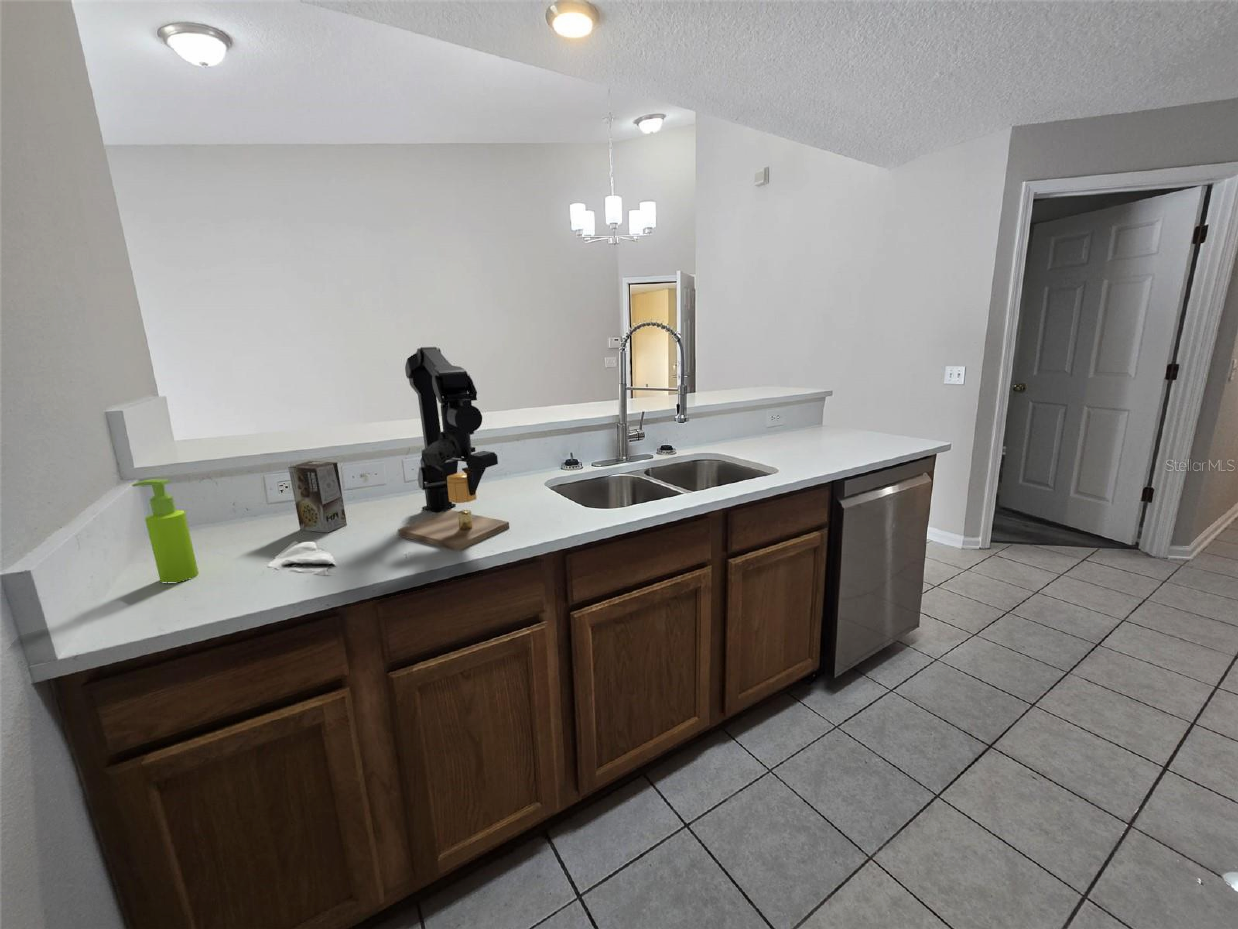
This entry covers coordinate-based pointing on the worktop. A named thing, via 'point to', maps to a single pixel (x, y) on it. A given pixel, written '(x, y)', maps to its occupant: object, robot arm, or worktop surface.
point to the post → (465, 520)
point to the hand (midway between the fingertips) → (462, 493)
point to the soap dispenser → (169, 536)
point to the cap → (459, 488)
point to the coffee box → (318, 496)
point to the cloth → (302, 559)
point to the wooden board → (452, 530)
